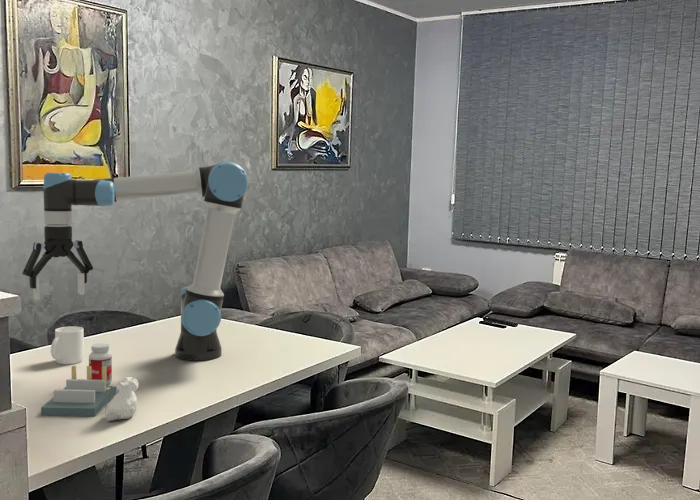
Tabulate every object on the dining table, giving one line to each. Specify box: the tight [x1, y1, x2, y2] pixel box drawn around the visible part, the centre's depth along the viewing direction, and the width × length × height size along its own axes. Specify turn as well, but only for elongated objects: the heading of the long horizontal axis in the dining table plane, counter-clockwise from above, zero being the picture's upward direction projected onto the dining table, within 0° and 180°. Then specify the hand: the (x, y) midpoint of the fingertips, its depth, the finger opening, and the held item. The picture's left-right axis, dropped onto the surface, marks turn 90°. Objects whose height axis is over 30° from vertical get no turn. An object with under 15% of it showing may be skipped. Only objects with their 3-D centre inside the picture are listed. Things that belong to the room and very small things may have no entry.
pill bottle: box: [88, 342, 113, 386], centre depth 199 cm, size 6×6×11 cm
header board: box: [40, 365, 117, 417], centre depth 181 cm, size 13×18×8 cm
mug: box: [50, 325, 85, 366], centre depth 218 cm, size 12×8×10 cm
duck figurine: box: [104, 376, 139, 422], centre depth 173 cm, size 12×8×11 cm
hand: (59, 296), depth 208 cm, fingers open, 13 cm apart
